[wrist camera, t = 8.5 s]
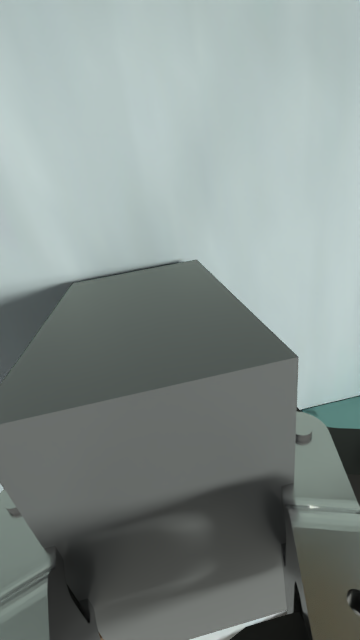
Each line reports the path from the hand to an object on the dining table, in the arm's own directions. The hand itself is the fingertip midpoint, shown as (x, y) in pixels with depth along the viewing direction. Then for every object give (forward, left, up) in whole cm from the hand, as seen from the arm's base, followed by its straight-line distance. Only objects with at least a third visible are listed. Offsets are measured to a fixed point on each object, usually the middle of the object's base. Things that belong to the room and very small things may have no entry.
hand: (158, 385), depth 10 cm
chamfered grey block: (0, 0, -2) cm, 2 cm away
